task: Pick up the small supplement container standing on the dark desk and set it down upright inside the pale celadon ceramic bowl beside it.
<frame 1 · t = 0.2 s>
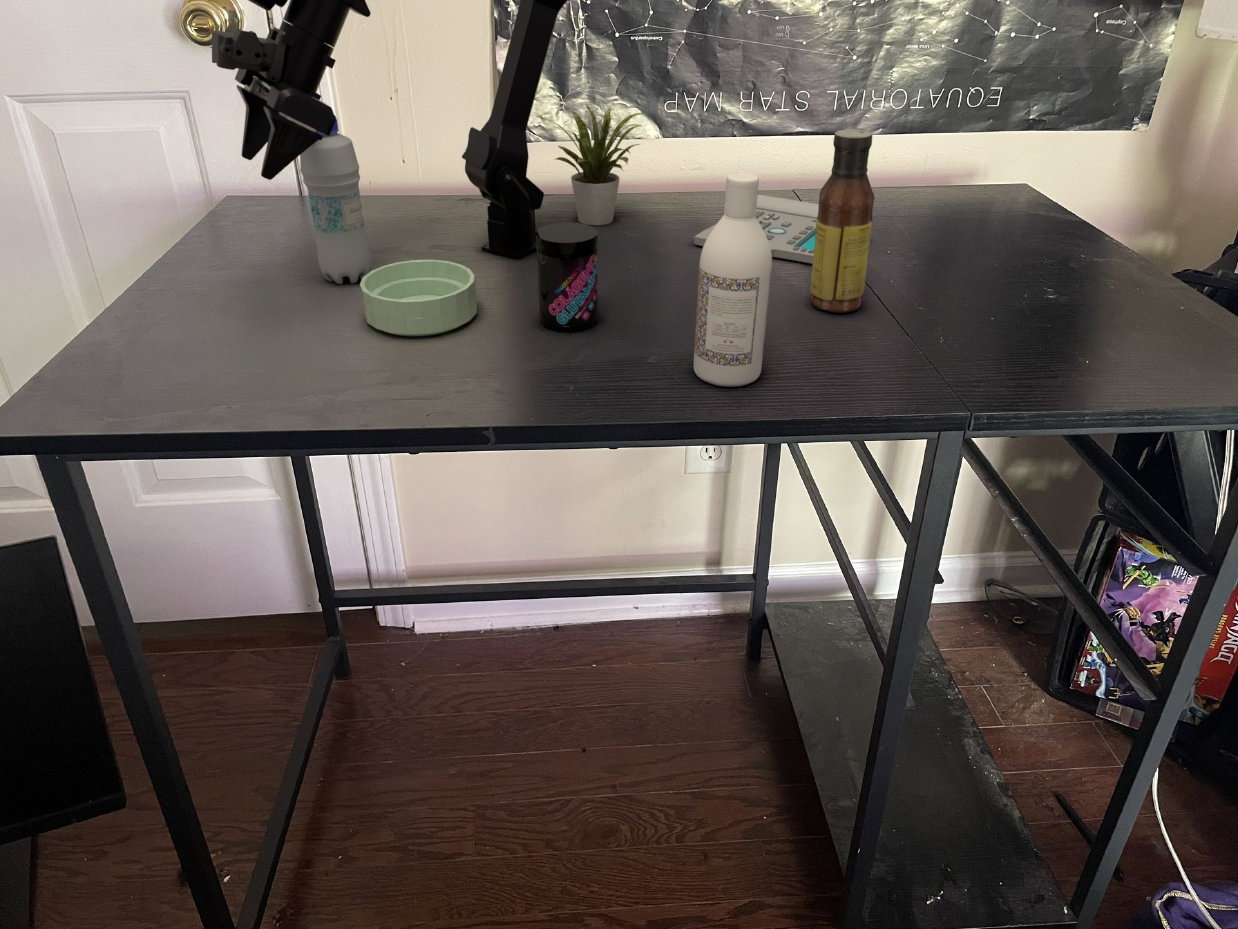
hand: (255, 167, 102), 15 cm above the table, tool tilted 30°, fingers open, 9 cm apart
bath foam: (726, 374, 93), on the table
office telephone: (791, 236, 129), on the table
supplement container: (568, 322, 103), on the table
bowl: (422, 316, 104), on the table
house plant: (604, 221, 134), on the table
sauce bottle: (833, 306, 108), on the table
bottle: (348, 279, 114), on the table
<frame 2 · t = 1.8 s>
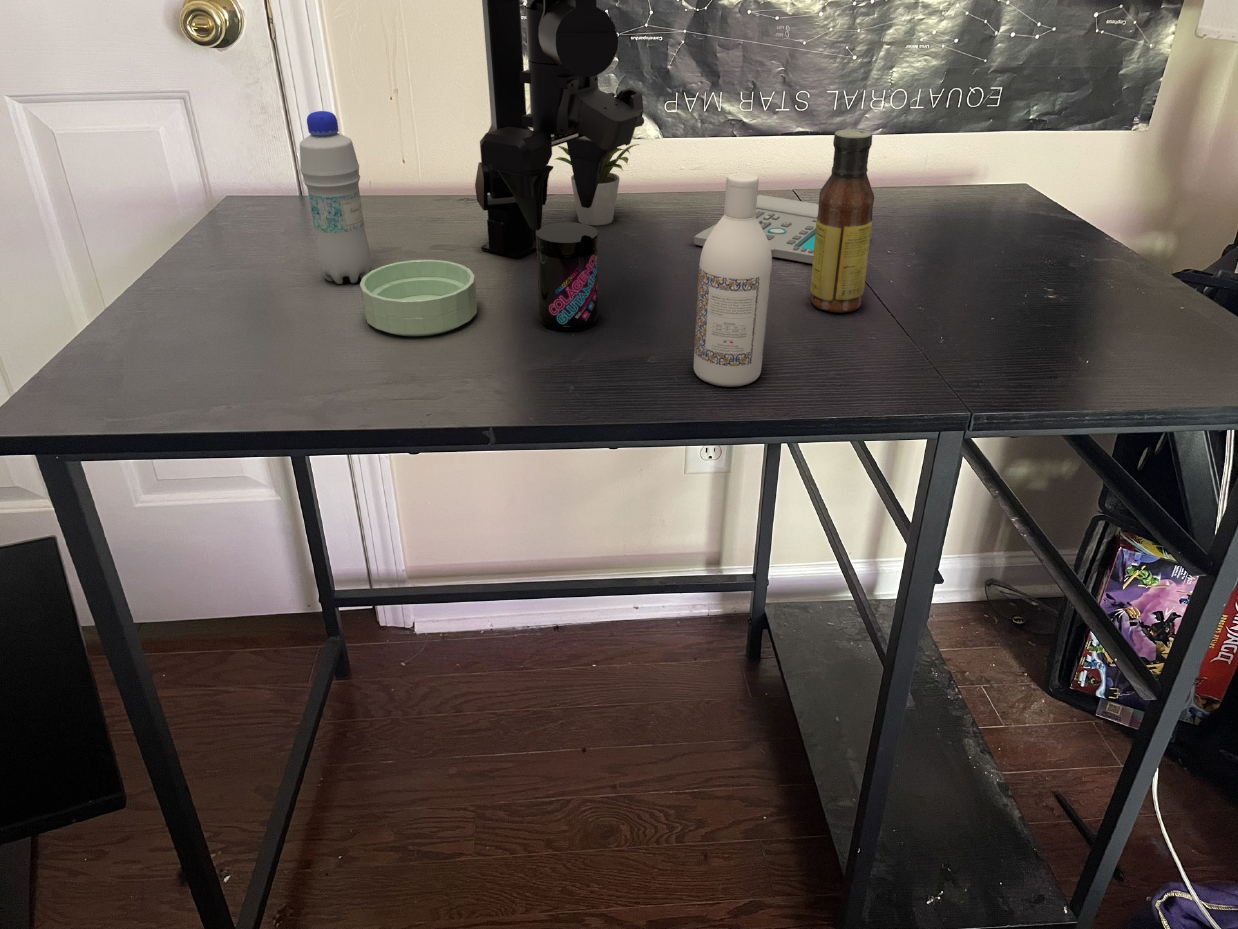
hand: (561, 217, 97), 12 cm above the table, tool pointing down, fingers open, 9 cm apart
nothing on the table moved.
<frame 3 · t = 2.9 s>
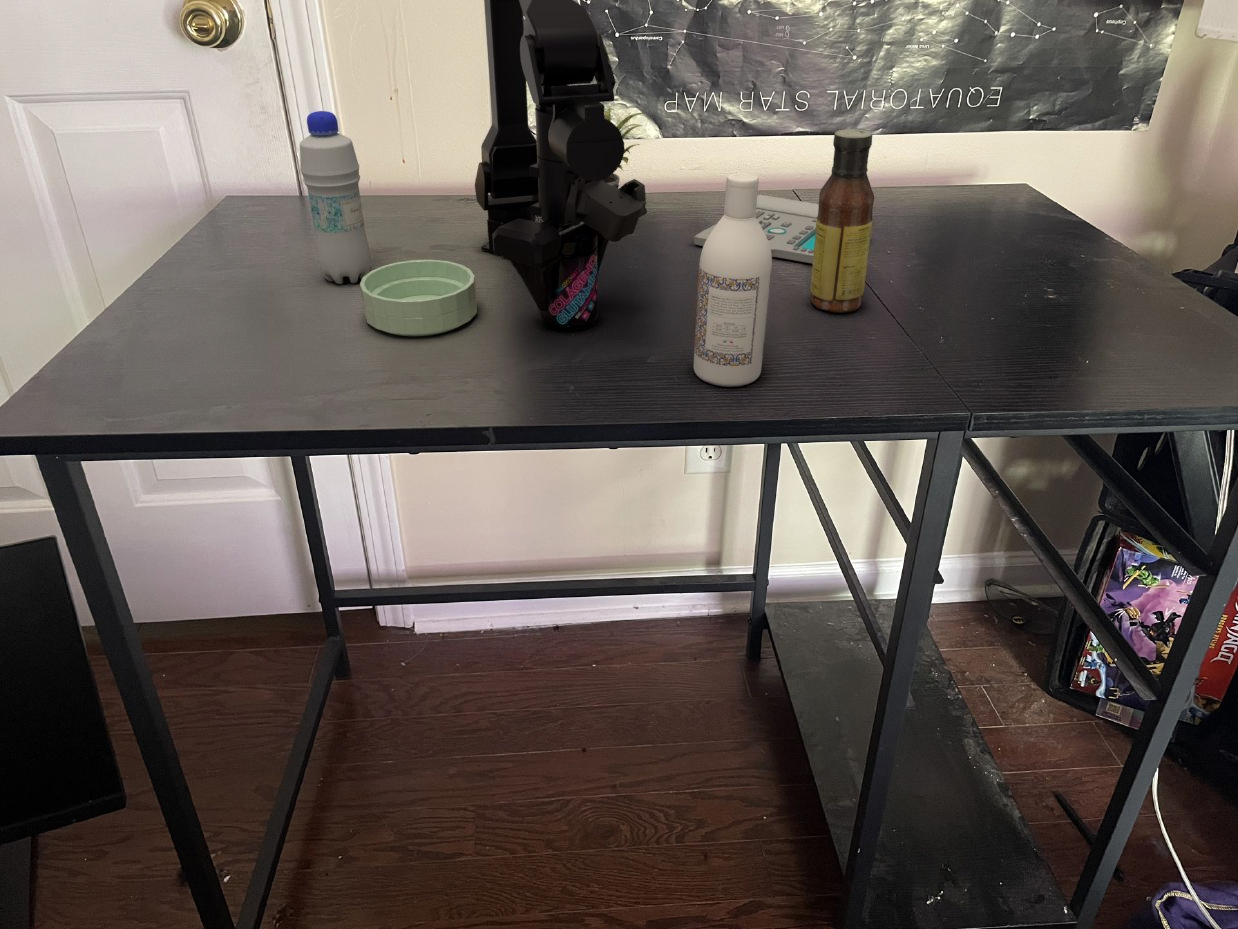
hand: (568, 296, 102), 3 cm above the table, tool pointing down
supplement container: (568, 322, 103), on the table, touching gripper
everything else where it was.
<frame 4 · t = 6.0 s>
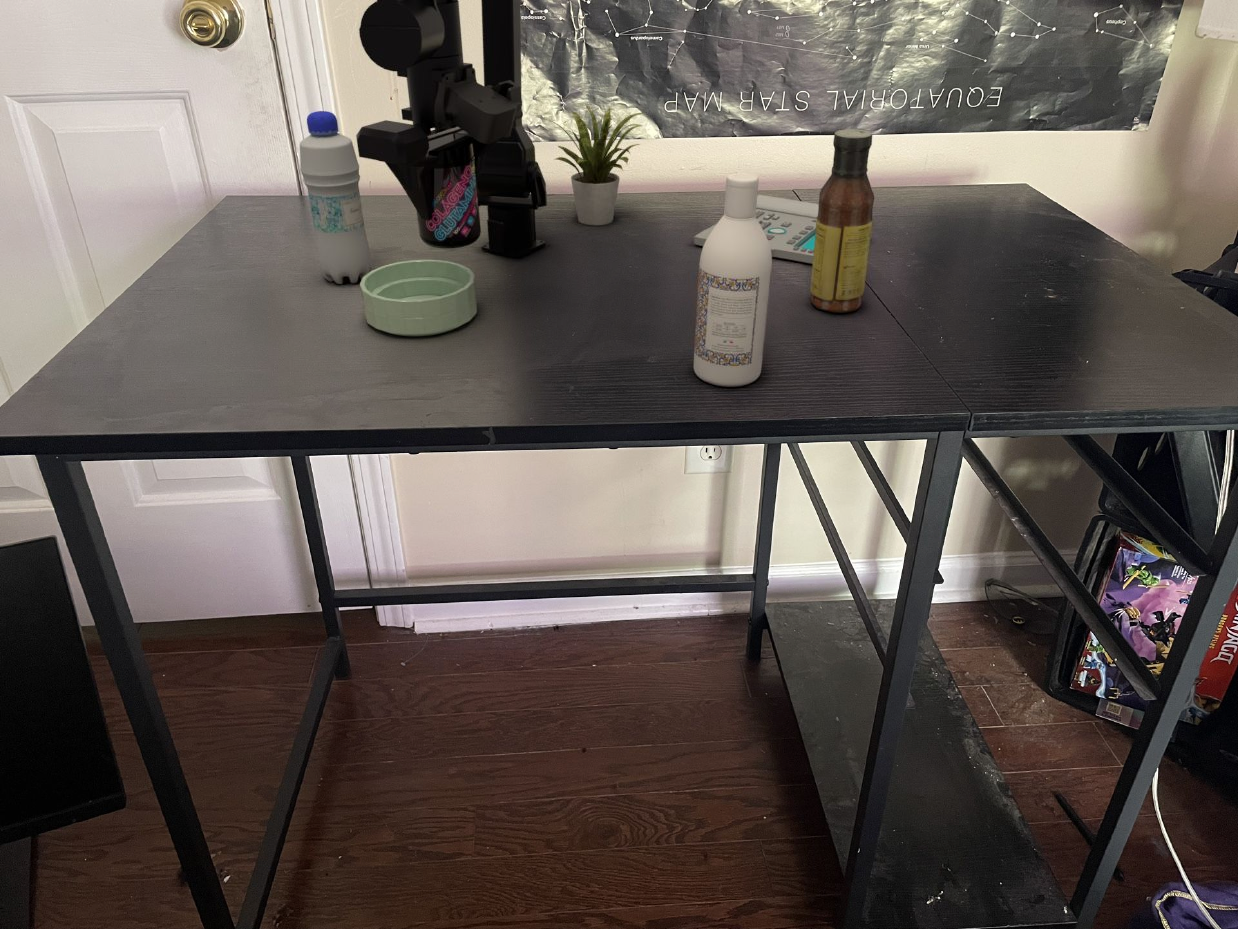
hand: (448, 210, 97), 12 cm above the table, tool pointing down, fingers closed on supplement container, 7 cm apart
supplement container: (451, 240, 99), point 9 cm above the table, touching gripper
everything else where it was.
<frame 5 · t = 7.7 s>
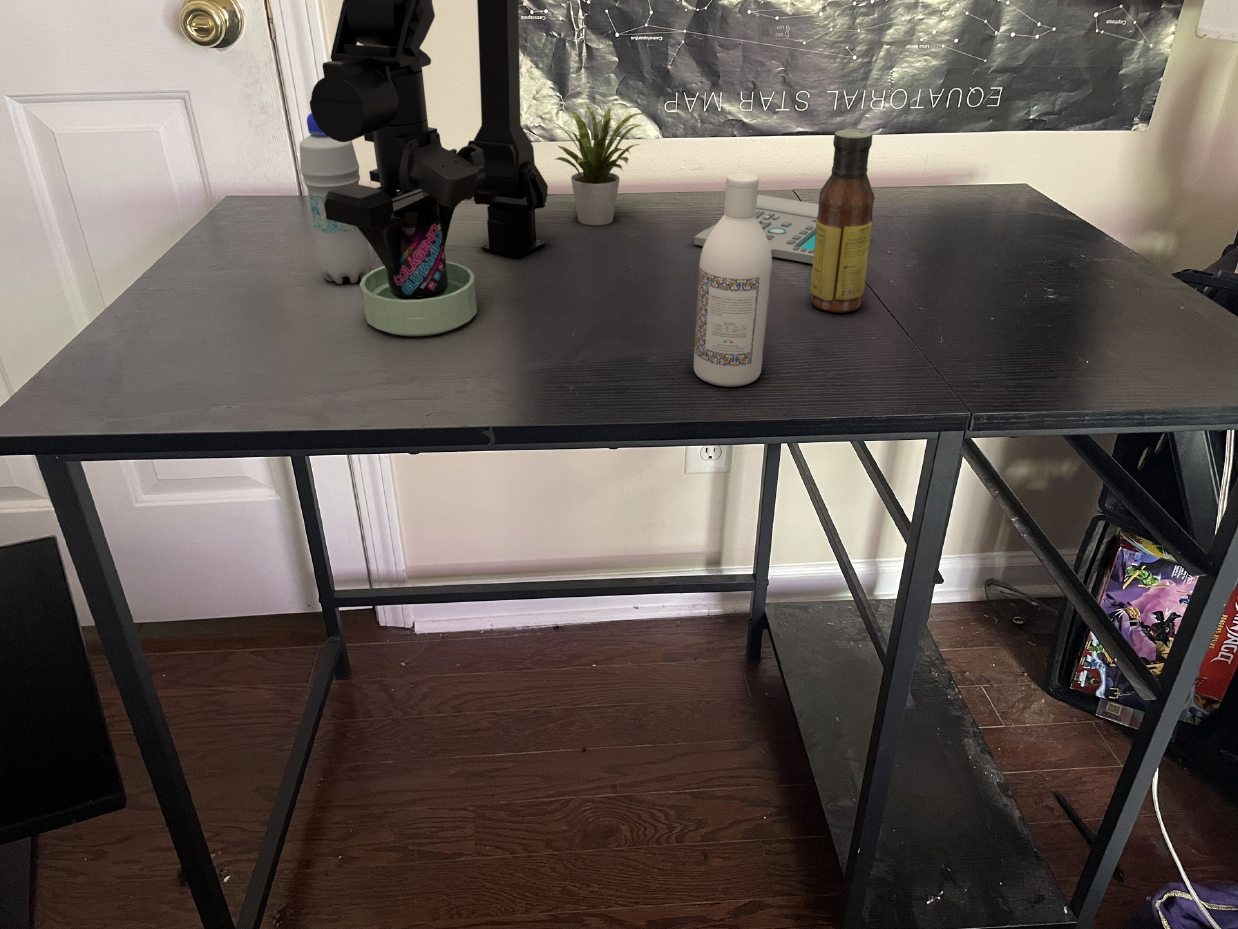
hand: (416, 265, 101), 6 cm above the table, tool pointing down, fingers closed on supplement container, 7 cm apart
supplement container: (420, 292, 103), point 3 cm above the table, touching gripper
everything else where it was.
when the fingers open (4 cm above the table, at t = 8.9 s): supplement container stays where it is, resting on bowl.
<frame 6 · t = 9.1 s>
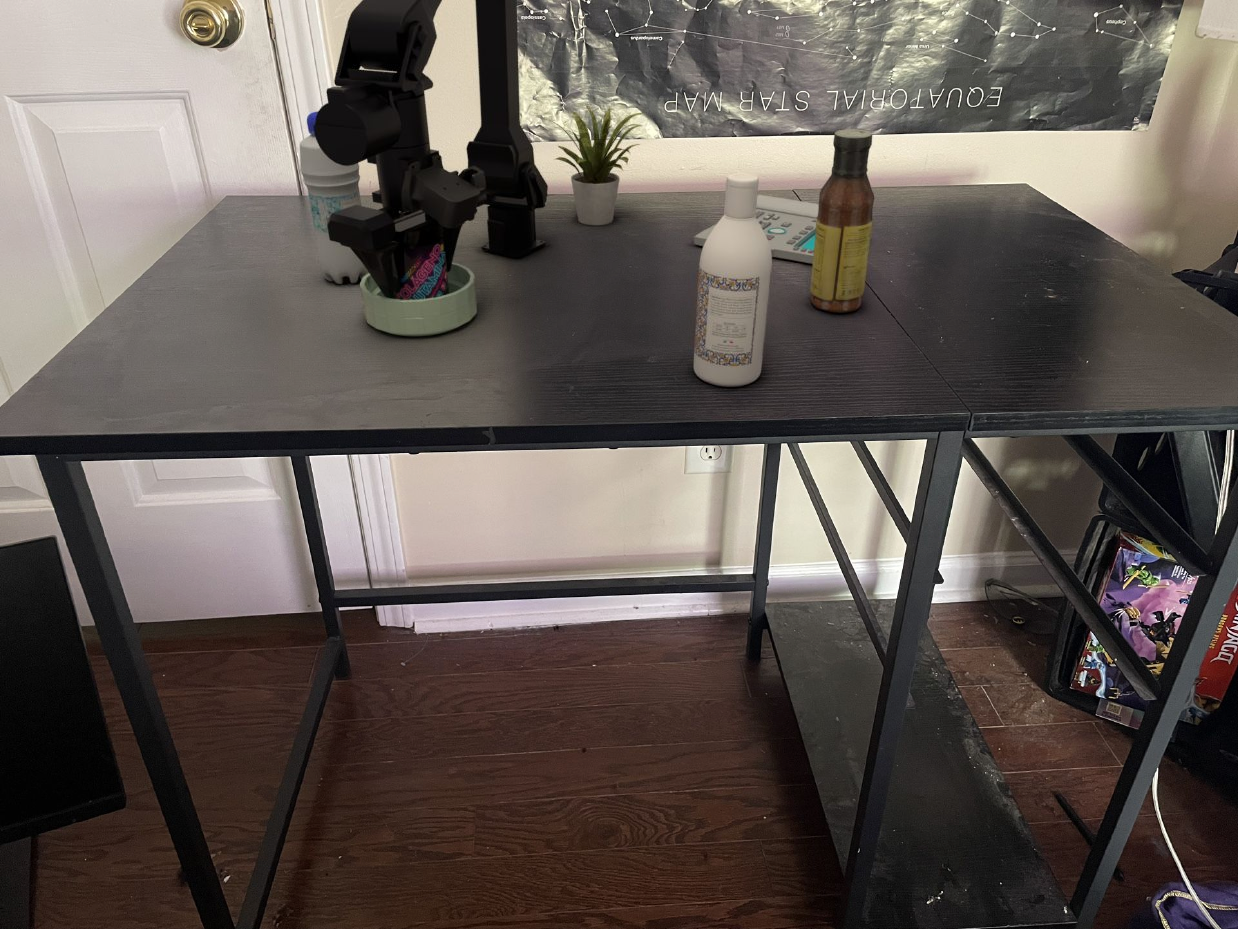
hand: (418, 284, 102), 4 cm above the table, tool pointing down, fingers open, 9 cm apart
supplement container: (422, 312, 104), resting on bowl
everything else where it was.
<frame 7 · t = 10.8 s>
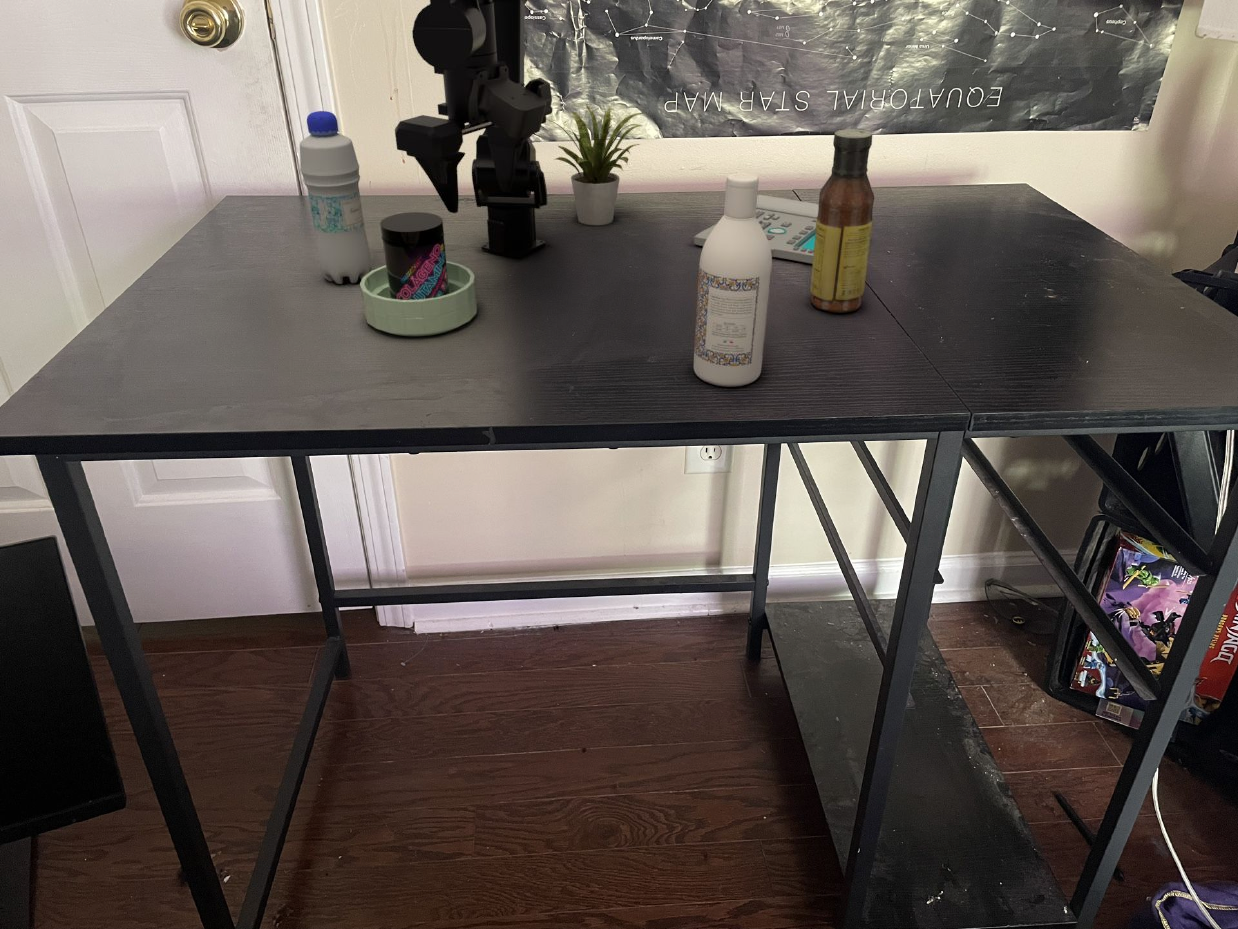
hand: (480, 201, 102), 12 cm above the table, tool pointing down, fingers open, 9 cm apart
nothing on the table moved.
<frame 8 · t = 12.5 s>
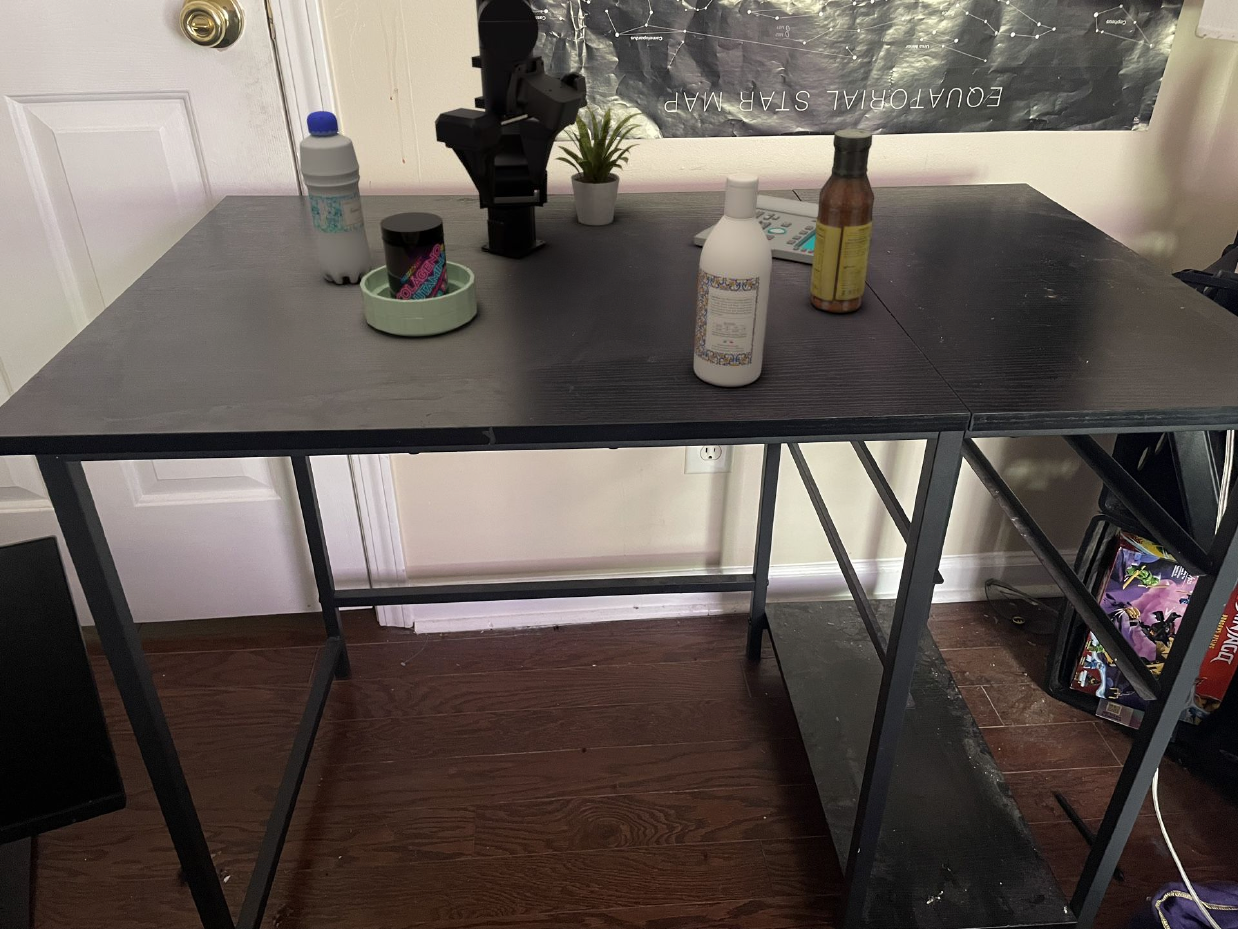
hand: (514, 193, 104), 12 cm above the table, tool pointing down, fingers open, 9 cm apart
nothing on the table moved.
at the end: supplement container 0.3 cm off-centre in the bowl, point 0.4 cm above the bowl's base; supplement container tilted 0°; the gripper is holding nothing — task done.
